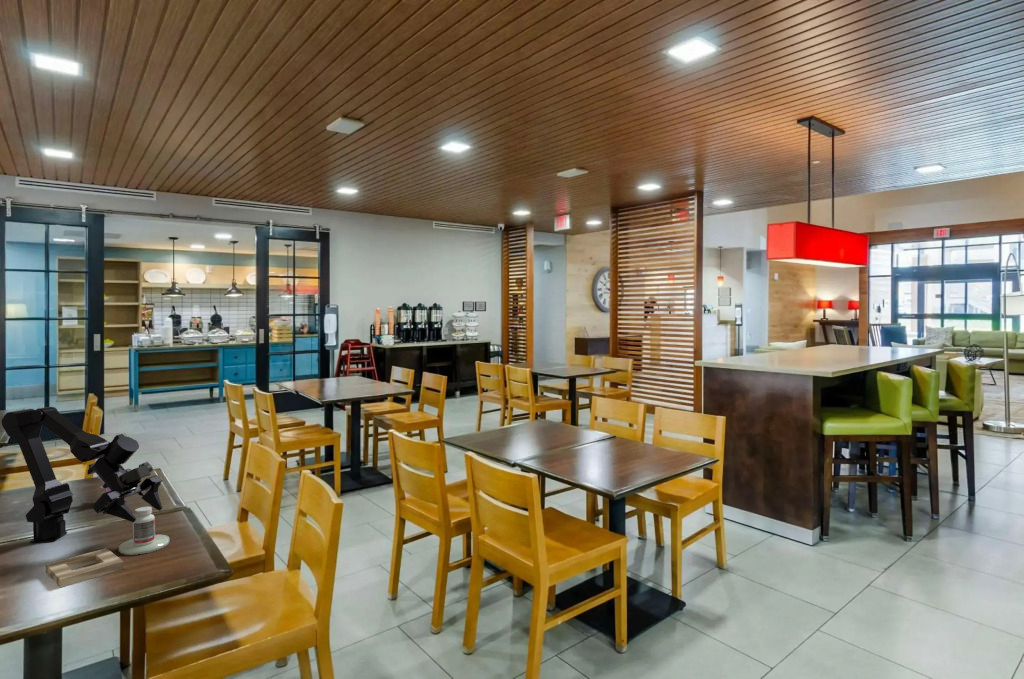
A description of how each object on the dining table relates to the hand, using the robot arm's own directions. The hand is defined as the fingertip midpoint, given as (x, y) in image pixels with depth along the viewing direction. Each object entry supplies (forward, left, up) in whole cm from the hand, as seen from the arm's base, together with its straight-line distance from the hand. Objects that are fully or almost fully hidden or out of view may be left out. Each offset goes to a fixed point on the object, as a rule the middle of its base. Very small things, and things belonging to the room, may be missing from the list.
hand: (148, 515), depth 157 cm
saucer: (-1, 0, -9) cm, 9 cm away
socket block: (-9, -14, -9) cm, 19 cm away
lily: (-29, +43, -9) cm, 53 cm away
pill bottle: (-1, +1, -8) cm, 8 cm away
